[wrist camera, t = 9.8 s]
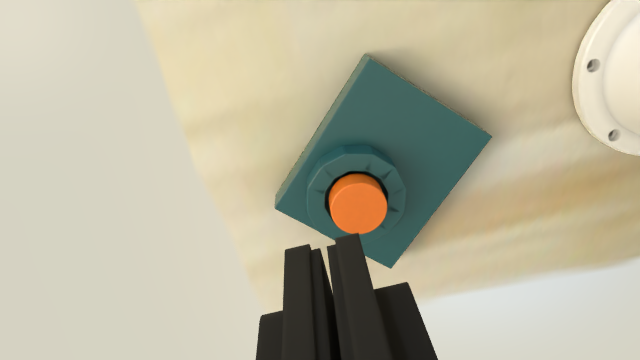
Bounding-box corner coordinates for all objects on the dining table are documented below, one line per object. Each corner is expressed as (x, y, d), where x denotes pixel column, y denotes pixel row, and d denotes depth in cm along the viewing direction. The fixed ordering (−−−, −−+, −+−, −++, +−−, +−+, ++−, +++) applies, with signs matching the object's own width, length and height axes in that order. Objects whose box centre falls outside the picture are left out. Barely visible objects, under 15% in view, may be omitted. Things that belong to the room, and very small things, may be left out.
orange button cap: (347, 163, 30) (350, 173, 29) (393, 189, 31) (398, 200, 30) (318, 206, 31) (319, 218, 30) (363, 230, 32) (366, 243, 31)
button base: (364, 53, 31) (374, 62, 27) (480, 127, 34) (503, 145, 30) (275, 195, 35) (273, 220, 31) (385, 254, 37) (395, 283, 33)
